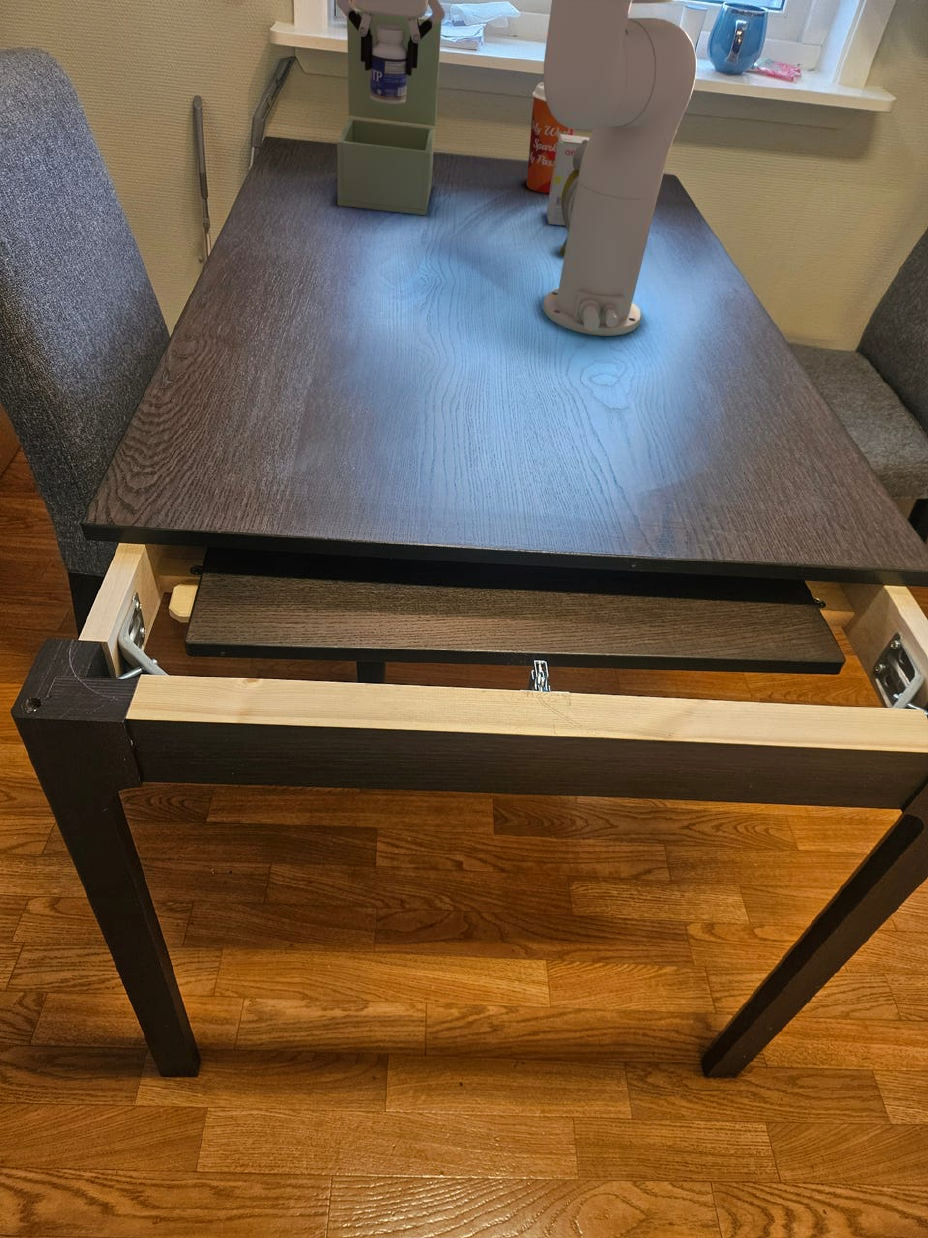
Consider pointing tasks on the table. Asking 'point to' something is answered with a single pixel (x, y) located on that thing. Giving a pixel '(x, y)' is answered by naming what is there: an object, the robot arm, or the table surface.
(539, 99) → the coffee cup
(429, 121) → the bin lid
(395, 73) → the pill bottle
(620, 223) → the robot arm
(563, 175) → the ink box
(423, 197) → the bin
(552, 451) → the table surface
